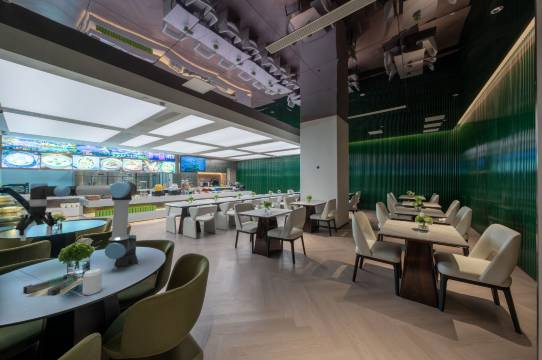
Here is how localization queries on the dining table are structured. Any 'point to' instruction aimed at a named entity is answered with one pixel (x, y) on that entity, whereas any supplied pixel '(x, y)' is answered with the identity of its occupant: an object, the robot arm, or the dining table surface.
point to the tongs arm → (46, 284)
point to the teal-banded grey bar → (62, 285)
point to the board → (44, 291)
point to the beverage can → (92, 281)
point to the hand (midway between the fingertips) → (36, 238)
